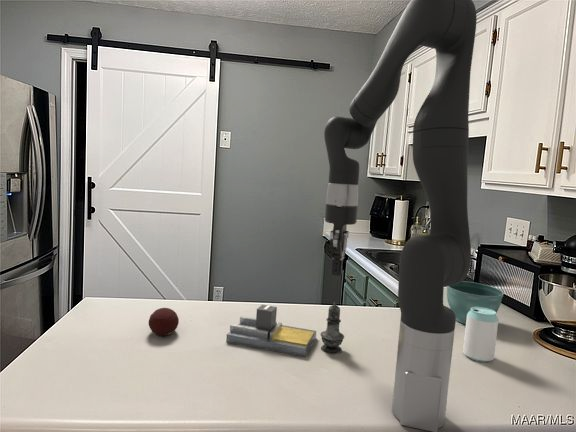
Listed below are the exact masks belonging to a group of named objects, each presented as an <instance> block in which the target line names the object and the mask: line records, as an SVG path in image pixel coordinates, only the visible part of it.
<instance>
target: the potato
mask: <svg viewBox="0 0 576 432" xmlns="http://www.w3.org/2000/svg"><path fill="white" fill-rule="evenodd" d="M179 320H180V319H179V316H178V314H177V312H175V310H174V309H172V308H169V307H161V308H158V309H155V310H154V311H153V312H152V313H151V314H150V316H149V319H148V326H149V329H150V331H151V332H152V333H154V334H155V335H157V336H161V337H164V336H168V335H171V334H172V333H174V332H175V331H176V330H177V328H178V325H179V323H180V321H179Z"/></svg>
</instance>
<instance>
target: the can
mask: <svg viewBox="0 0 576 432" xmlns="http://www.w3.org/2000/svg"><path fill="white" fill-rule="evenodd" d="M498 328H499V318H498V316H497V313H496V312H495V311H493V310H491V309H488V308H483V307H472V308H471V310H470V311H469V312H468V313H467V319H466V324H465V330H464V331H465V332H464V339H463V347H462V352H463V354H464V356H465V357H467V358H468V359H470V360H473V361H475V362H479V363H488V362H490V361H493V360H494V359H495V352H496V345H497V335H498Z"/></svg>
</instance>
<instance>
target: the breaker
mask: <svg viewBox="0 0 576 432" xmlns="http://www.w3.org/2000/svg"><path fill="white" fill-rule="evenodd" d="M277 311H278V307H277V306H274V305H266V304H261V305H259V307H257V308H256V315H255V316H256V317H255V318H256V328H258V329H264V330H269V335H270V332H271V331H272V330H273V328H274V327H275V326H276V322H277Z"/></svg>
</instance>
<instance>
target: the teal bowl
mask: <svg viewBox="0 0 576 432" xmlns="http://www.w3.org/2000/svg"><path fill="white" fill-rule="evenodd" d="M503 297H504V292H503V290H501V289H499V288H497V287H495V286H491V285H487V284H483V283H480V282H479V283H478V282H473V281H464V280H463V281H462V282H460V283H458V284H455V285H450V286H446V300H447V302H448V306H449V308H450V309H451V310H453V311H454V313H455V315H456V321H457V322H458V323H459V324H464V325H466V319H467V313H468V312H469V311H470V310H471V308H472V307H483V308H488V309H491V310H493V311H495V312H496V314H497V312H498V311H499V309H500V307H501V304H502V300H503Z"/></svg>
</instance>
